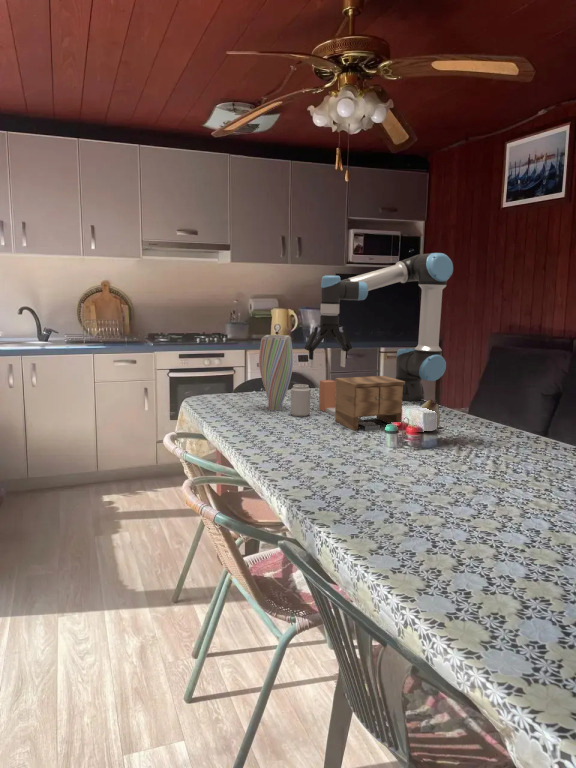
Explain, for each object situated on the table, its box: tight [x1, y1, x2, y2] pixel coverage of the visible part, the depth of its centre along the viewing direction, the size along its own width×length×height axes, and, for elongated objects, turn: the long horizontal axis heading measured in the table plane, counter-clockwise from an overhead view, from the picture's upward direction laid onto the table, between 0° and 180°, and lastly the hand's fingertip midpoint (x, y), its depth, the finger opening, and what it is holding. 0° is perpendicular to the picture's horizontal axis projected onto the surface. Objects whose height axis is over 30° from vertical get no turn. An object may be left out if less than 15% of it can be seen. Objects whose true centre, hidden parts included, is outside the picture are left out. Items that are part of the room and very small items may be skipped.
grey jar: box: [290, 383, 311, 418], centre depth 229 cm, size 8×8×12 cm
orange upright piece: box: [318, 379, 365, 423], centre depth 229 cm, size 29×5×12 cm, turn 22°
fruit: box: [419, 398, 441, 428], centre depth 207 cm, size 10×9×12 cm
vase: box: [258, 334, 294, 411], centre depth 239 cm, size 14×14×30 cm
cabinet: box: [334, 375, 405, 431], centre depth 215 cm, size 21×15×16 cm
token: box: [358, 421, 381, 432], centre depth 210 cm, size 6×6×2 cm
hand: (327, 367), depth 238 cm, fingers open, 13 cm apart
